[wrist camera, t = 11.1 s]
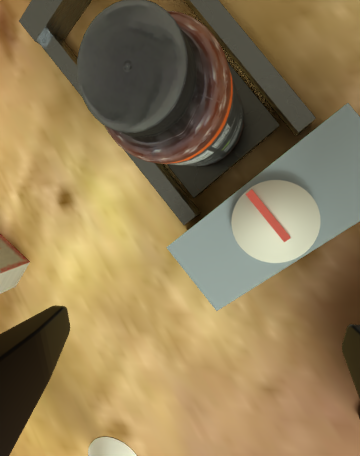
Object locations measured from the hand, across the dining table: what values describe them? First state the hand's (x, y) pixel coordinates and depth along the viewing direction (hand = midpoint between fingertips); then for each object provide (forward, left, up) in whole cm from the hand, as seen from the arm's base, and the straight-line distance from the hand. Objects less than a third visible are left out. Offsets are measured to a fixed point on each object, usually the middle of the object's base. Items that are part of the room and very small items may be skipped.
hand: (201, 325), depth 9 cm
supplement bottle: (+5, -7, -12) cm, 15 cm away
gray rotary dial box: (-1, -3, -13) cm, 13 cm away
